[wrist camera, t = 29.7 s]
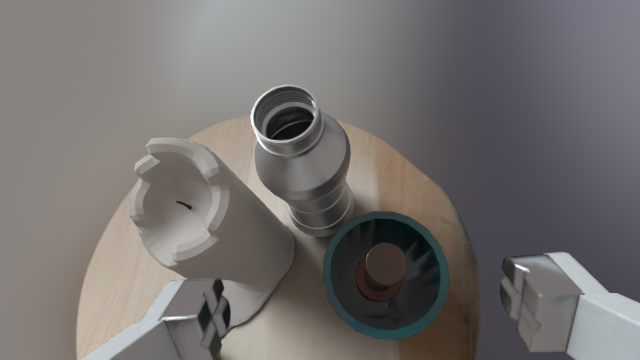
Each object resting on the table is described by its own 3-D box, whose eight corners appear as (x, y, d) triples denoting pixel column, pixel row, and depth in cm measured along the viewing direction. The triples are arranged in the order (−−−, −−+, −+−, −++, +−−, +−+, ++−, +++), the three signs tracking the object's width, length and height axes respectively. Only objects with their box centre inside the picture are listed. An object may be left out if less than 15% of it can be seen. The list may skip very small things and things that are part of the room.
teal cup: (443, 293, 32) (476, 289, 23) (368, 348, 31) (370, 367, 22) (387, 219, 35) (395, 189, 26) (317, 267, 34) (300, 254, 25)
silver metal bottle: (283, 202, 37) (204, 100, 19) (336, 171, 38) (310, 43, 19) (311, 253, 35) (252, 195, 16) (367, 220, 35) (372, 127, 17)
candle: (173, 313, 34) (-51, 323, 16) (257, 205, 37) (153, 107, 19) (223, 360, 32) (33, 437, 14) (308, 242, 35) (248, 173, 17)
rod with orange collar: (392, 255, 33) (411, 223, 20) (402, 297, 32) (430, 292, 19) (352, 262, 33) (345, 236, 20) (360, 305, 32) (359, 306, 19)
